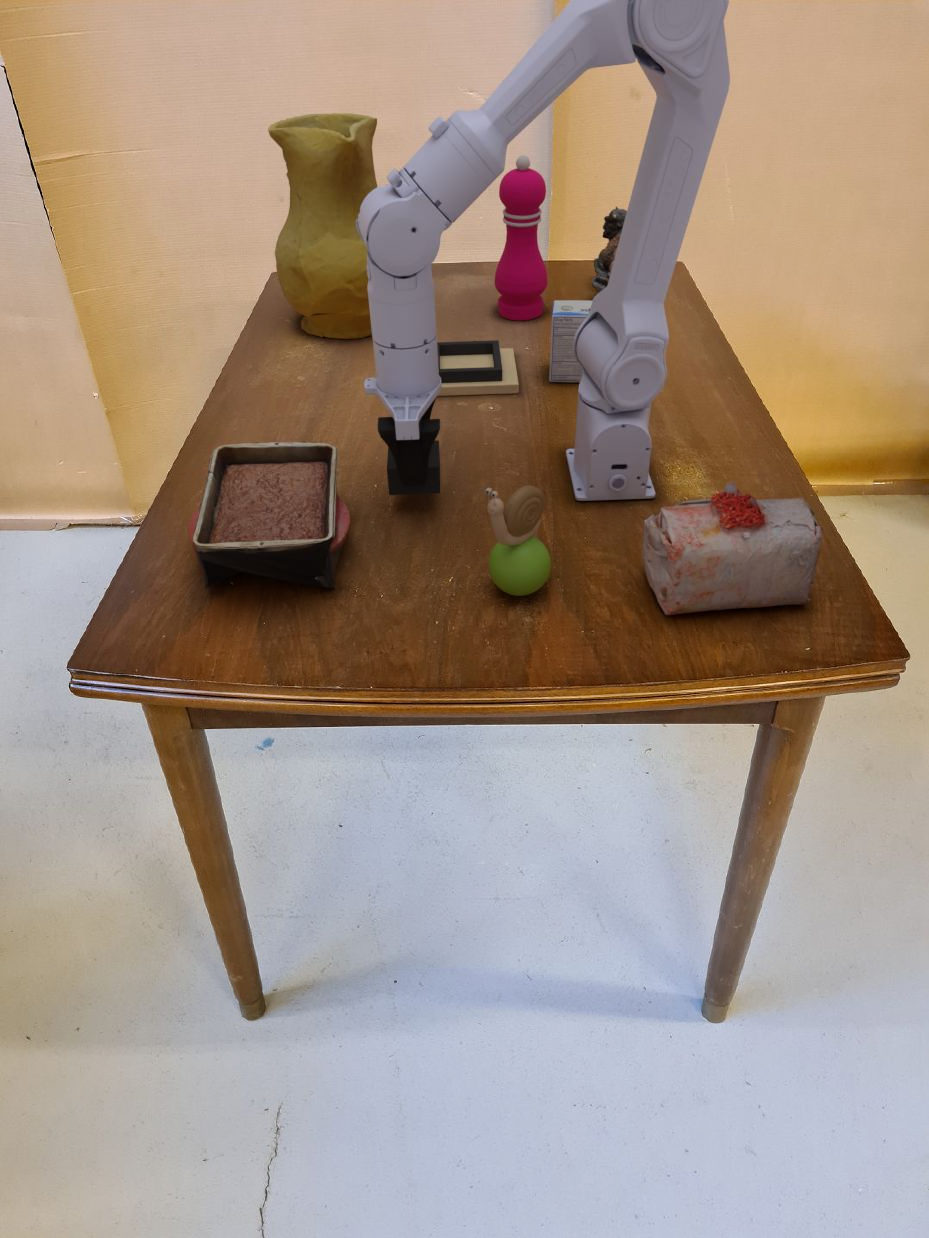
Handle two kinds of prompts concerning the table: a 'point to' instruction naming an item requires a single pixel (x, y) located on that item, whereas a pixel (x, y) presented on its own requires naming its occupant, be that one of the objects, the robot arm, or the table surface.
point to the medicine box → (566, 339)
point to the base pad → (476, 368)
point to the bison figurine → (608, 248)
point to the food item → (731, 553)
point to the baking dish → (271, 513)
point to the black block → (428, 488)
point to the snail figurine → (518, 542)
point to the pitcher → (326, 221)
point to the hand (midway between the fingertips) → (414, 467)
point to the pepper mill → (521, 244)
